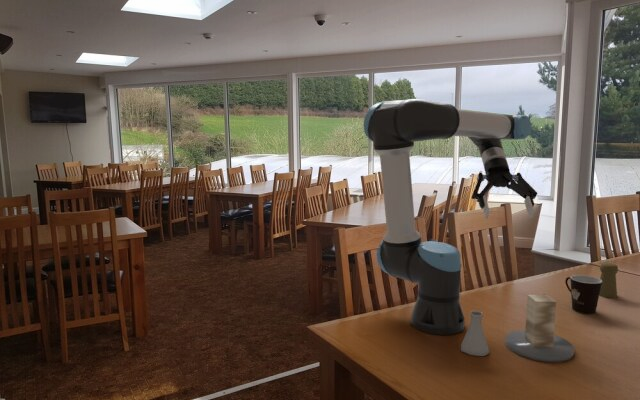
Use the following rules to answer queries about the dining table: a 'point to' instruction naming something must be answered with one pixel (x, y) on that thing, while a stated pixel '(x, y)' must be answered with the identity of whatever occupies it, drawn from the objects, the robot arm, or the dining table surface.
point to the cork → (608, 280)
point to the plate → (539, 348)
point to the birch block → (540, 320)
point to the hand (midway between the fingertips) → (509, 215)
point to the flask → (475, 337)
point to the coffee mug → (584, 293)
